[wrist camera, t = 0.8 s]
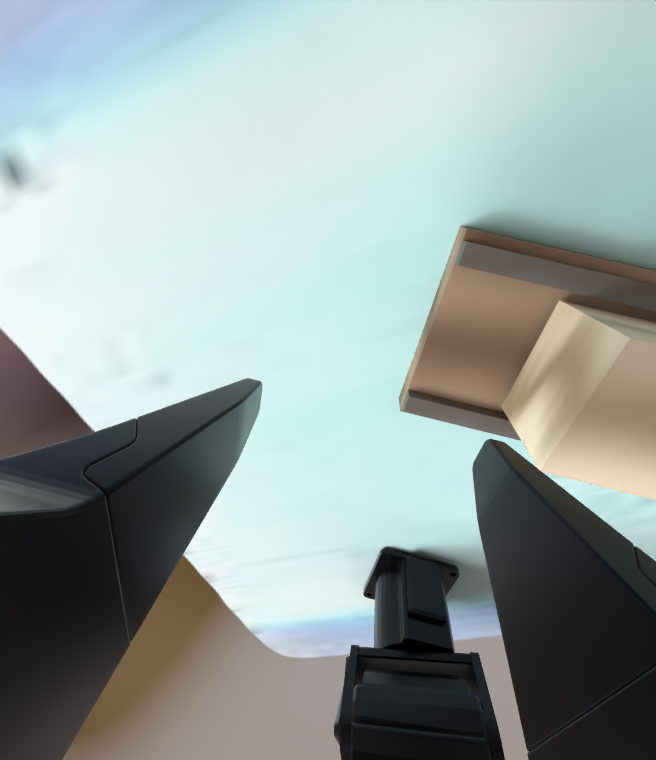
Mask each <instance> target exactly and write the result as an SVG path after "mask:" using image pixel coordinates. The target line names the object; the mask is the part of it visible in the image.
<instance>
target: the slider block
mask: <svg viewBox="0 0 656 760" xmlns="http://www.w3.org/2000/svg"><path fill="white" fill-rule="evenodd" d="M502 409H503V411H504V412H505V414H506V416H507V417H508V419H509V421H510V422H511V424H512V426H513V427H514V429H515V431H516V432H517V434H518V436H519V437H520V439H521V441H522V443H523V444H524V446H525V448H526V449H527V451H528V453H529V454H530V456H531V458H532V459H533V461H534V463H535V464H536V466H537V468H538V469H539V470H540V471H541V472H545V473H549V474H553V475H557V476H561V477H565V478H569V479H573V480H577V481H581V482H585V483H589V484H594V485H598V486H602V487H606V488H610V489H614V490H618V491H622V492H626V493H630V494H634V495H638V496H642V497H646V498H650V499H654V500H656V323H655V322H651V321H647V320H642V319H638V318H634V317H629V316H625V315H621V314H617V313H612V312H608V311H604V310H599V309H595V308H591V307H587V306H582V305H578V304H574V303H570V302H565V301H561V300H559V302H558V303H557V305H556V307H555V309H554V311H553V313H552V315H551V316H550V318H549V320H548V322H547V324H546V326H545V328H544V329H543V331H542V333H541V335H540V337H539V339H538V340H537V342H536V344H535V346H534V348H533V350H532V352H531V353H530V355H529V357H528V359H527V361H526V363H525V364H524V366H523V368H522V370H521V372H520V374H519V376H518V377H517V379H516V381H515V383H514V385H513V387H512V388H511V390H510V392H509V394H508V396H507V398H506V400H505V401H504V403H503V405H502Z"/></svg>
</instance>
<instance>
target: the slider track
mask: <svg viewBox="0 0 656 760" xmlns="http://www.w3.org/2000/svg"><path fill="white" fill-rule="evenodd" d="M559 300H561V301H565V302H570V303H574V304H578V305H582V306H587V307H591V308H595V309H599V310H604V311H608V312H612V313H617V314H621V315H625V316H629V317H634V318H638V319H642V320H647V321H651V322H655V323H656V271H653V270H649V269H644V268H640V267H636V266H631V265H627V264H623V263H618V262H614V261H609V260H605V259H601V258H596V257H592V256H588V255H583V254H579V253H575V252H570V251H566V250H562V249H557V248H553V247H548V246H544V245H540V244H535V243H531V242H527V241H522V240H518V239H514V238H509V237H505V236H501V235H496V234H492V233H487V232H483V231H479V230H474V229H470V228H466V227H461V226H460V229H459V232H458V235H457V237H456V240H455V243H454V246H453V249H452V251H451V254H450V257H449V260H448V263H447V265H446V268H445V271H444V274H443V277H442V279H441V282H440V285H439V288H438V290H437V293H436V296H435V299H434V302H433V304H432V307H431V310H430V313H429V316H428V318H427V321H426V324H425V327H424V330H423V332H422V335H421V338H420V341H419V344H418V346H417V349H416V352H415V355H414V358H413V360H412V363H411V366H410V369H409V372H408V374H407V377H406V380H405V383H404V385H403V388H402V391H401V394H400V397H399V403H400V411H403V412H407V413H411V414H415V415H419V416H423V417H427V418H431V419H435V420H440V421H444V422H448V423H452V424H456V425H460V426H464V427H468V428H472V429H476V430H480V431H484V432H488V433H492V434H496V435H500V436H504V437H508V438H513V439H517V440H521V439H520V437H519V436H518V434H517V432H516V431H515V429H514V427H513V426H512V424H511V422H510V421H509V419H508V417H507V416H506V414H505V412H504V411H503V409H502V405H503V403H504V401H505V400H506V398H507V396H508V394H509V392H510V390H511V388H512V387H513V385H514V383H515V381H516V379H517V377H518V376H519V374H520V372H521V370H522V368H523V366H524V364H525V363H526V361H527V359H528V357H529V355H530V353H531V352H532V350H533V348H534V346H535V344H536V342H537V340H538V339H539V337H540V335H541V333H542V331H543V329H544V328H545V326H546V324H547V322H548V320H549V318H550V316H551V315H552V313H553V311H554V309H555V307H556V305H557V303H558V302H559Z"/></svg>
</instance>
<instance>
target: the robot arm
mask: <svg viewBox="0 0 656 760" xmlns="http://www.w3.org/2000/svg"><path fill="white" fill-rule="evenodd" d="M261 394H262V382H261V381H258V380H254V379H250V378H247V379H244V380H241V381H238V382H235V383H232V384H230V385H227V386H224V387H221V388H218V389H216V390H213V391H210V392H207V393H204V394H202V395H199V396H196V397H193V398H190V399H188V400H185V401H182V402H179V403H176V404H174V405H171V406H168V407H165V408H162V409H160V410H157V411H154V412H151V413H148V414H146V415H143V416H140V417H138V418H137V419H135V418H134V419H131V420H129V421H126V422H123V423H120V424H117V425H114V426H111V427H108V428H105V429H102V430H99V431H96V432H93V433H90V434H87V435H83V436H80V437H77V438H73V439H70V440H66V441H63V442H60V443H56V444H52V445H49V446H45V447H42V448H38V449H35V450H31V451H28V452H24V453H21V454H17V455H14V456H10V457H7V458H3V459H0V760H62V759H63V757H64V756H65V754H66V752H67V751H68V749H69V747H70V746H71V744H72V742H73V740H74V739H75V737H76V736H77V734H78V732H79V730H80V729H81V727H82V725H83V724H84V722H85V720H86V719H87V717H88V715H89V713H90V712H91V710H92V708H93V707H94V705H95V703H96V701H97V700H98V698H99V696H100V695H101V693H102V691H103V690H104V688H105V686H106V685H107V683H108V681H109V679H110V678H111V676H112V674H113V673H114V671H115V669H116V668H117V666H118V664H119V662H120V660H121V659H122V657H123V656H124V654H125V652H126V650H127V649H128V647H129V645H130V642H131V641H132V640H133V638H134V637H135V635H136V633H137V631H138V630H139V628H140V626H141V625H142V623H143V621H144V620H145V618H146V616H147V614H148V613H149V611H150V609H151V608H152V606H153V604H154V603H155V601H156V599H157V598H158V596H159V594H160V592H161V591H162V589H163V587H164V586H165V584H166V582H167V581H168V579H169V577H170V575H171V574H172V572H173V570H174V568H175V567H176V565H177V564H178V562H179V560H180V558H181V557H182V555H183V553H184V552H185V550H186V548H187V547H188V545H189V543H190V541H191V540H192V538H193V536H194V535H195V533H196V531H197V530H198V528H199V526H200V524H201V523H202V521H203V519H204V518H205V516H206V514H207V513H208V511H209V509H210V508H211V506H212V504H213V502H214V501H215V499H216V497H217V496H218V494H219V492H220V491H221V489H222V487H223V485H224V484H225V482H226V480H227V479H228V477H229V475H230V474H231V472H232V470H233V468H234V467H235V465H236V463H237V461H238V459H239V457H240V455H241V453H242V451H243V448H244V446H245V443H246V441H247V439H248V436H249V434H250V432H251V429H252V427H253V425H254V422H255V420H256V418H257V415H258V413H259V409H260V401H261ZM473 480H474V491H475V501H476V511H477V519H478V525H479V530H480V535H481V540H482V544H483V549H484V553H485V558H486V563H487V567H488V572H489V577H490V581H491V586H492V590H493V595H494V600H495V604H496V609H497V614H498V618H499V623H500V627H501V632H502V637H503V641H504V646H505V651H506V655H507V660H508V664H509V669H510V674H511V678H512V683H513V688H514V692H515V697H516V701H517V706H518V711H519V715H520V720H521V725H522V729H523V734H524V738H525V743H526V748H527V750H528V751H529V752H528V758H529V760H656V561H654V560H653V559H652V558H651V557H649V556H648V555H647V554H645V553H644V552H643V551H642V550H640V549H639V548H638V547H634V545H633V543H631V542H630V541H629V540H628V539H626V538H625V537H624V536H623V535H621V534H620V533H619V532H617V531H616V530H615V529H614V528H612V527H611V526H610V525H609V524H607V523H606V522H605V521H603V520H602V519H601V518H600V517H598V516H597V515H596V514H595V513H593V512H592V511H591V510H590V509H588V508H587V507H586V506H584V505H583V504H582V503H581V502H579V501H578V500H577V499H576V498H574V497H573V496H572V495H571V494H569V493H568V492H567V491H565V490H564V489H563V488H562V487H560V486H559V485H558V484H557V483H555V482H554V481H553V480H551V479H550V478H549V477H548V476H546V475H545V474H544V473H543V472H541V471H540V470H539V469H538V468H536V467H535V466H534V465H532V464H531V463H530V462H529V461H527V460H526V459H525V458H524V457H522V456H521V455H520V454H519V453H517V452H516V451H515V450H513V449H512V448H511V447H510V446H508V445H507V444H506V443H504V442H501V441H497V440H493V439H488V440H486V441H485V443H484V444H483V446H482V448H481V450H480V452H479V453H478V455H477V457H476V459H475V461H474V463H473ZM458 577H459V570H458V568H457V567H455V566H451V565H448V564H444V563H440V562H436V561H432V560H428V559H424V558H421V557H417V556H413V555H409V554H405V553H401V552H397V551H393V550H390V549H382V550H381V551H380V553H379V555H378V558H377V560H376V562H375V564H374V567H373V569H372V571H371V573H370V576H369V578H368V580H367V583H366V585H365V587H364V593H363V595H364V596H365V597H367V598H370V599H374V600H375V618H374V648H370V647H359V645H351V652H350V656H349V657H347V658H346V667H345V679H344V687H343V692H342V696H341V700H340V704H339V708H338V712H337V717H336V720H335V725H334V736H335V738H336V740H337V742H338V744H339V745H340V753H341V760H505V758H504V753H503V748H502V743H501V738H500V734H499V729H498V726H497V721H496V717H495V714H494V710H493V706H492V702H491V699H490V695H489V691H488V687H487V683H486V680H485V676H484V672H483V668H482V665H481V661H480V657H479V654H478V653H474V652H470V654H464V653H455V649H454V644H453V637H452V631H451V625H450V619H449V613H448V607H447V601H446V595H447V593H448V592H449V590H450V589H451V587H452V586H453V584H454V583H455V581H456V580H457V578H458Z"/></svg>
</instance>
